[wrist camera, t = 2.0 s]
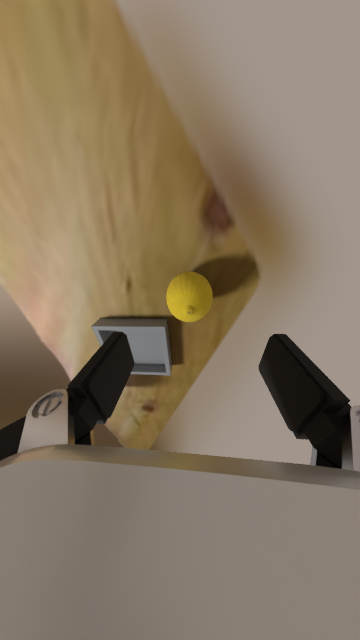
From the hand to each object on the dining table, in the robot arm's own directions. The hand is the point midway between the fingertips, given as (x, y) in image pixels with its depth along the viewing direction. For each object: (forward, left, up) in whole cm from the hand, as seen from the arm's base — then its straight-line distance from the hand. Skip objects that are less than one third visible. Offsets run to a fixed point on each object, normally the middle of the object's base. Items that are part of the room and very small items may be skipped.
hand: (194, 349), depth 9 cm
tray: (+11, -10, -13) cm, 20 cm away
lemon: (0, 0, -13) cm, 13 cm away
